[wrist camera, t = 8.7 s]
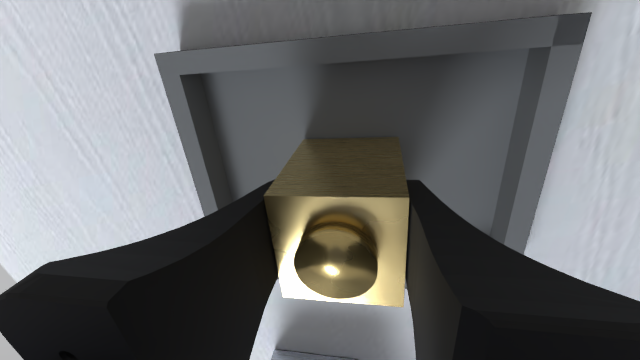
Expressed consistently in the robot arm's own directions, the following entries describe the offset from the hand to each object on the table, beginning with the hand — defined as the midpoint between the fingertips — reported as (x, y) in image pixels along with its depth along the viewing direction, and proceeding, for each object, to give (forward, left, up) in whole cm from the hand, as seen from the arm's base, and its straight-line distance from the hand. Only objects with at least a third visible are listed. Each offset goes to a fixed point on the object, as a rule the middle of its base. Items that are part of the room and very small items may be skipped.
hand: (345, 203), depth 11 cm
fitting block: (0, 0, -3) cm, 3 cm away
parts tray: (0, 0, -3) cm, 3 cm away
